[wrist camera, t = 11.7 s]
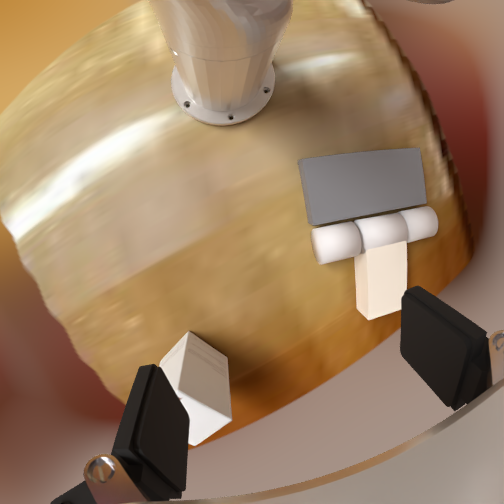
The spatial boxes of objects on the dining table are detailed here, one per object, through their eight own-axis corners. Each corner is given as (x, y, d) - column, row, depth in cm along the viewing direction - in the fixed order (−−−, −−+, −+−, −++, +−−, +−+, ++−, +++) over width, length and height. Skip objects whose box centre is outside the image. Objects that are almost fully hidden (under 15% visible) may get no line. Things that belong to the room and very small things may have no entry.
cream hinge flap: (350, 217, 36) (365, 222, 31) (389, 211, 36) (406, 214, 32) (356, 308, 39) (369, 321, 35) (392, 297, 39) (407, 308, 35)
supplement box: (159, 360, 38) (141, 420, 25) (189, 328, 37) (177, 388, 25) (198, 386, 39) (194, 448, 27) (229, 358, 39) (234, 420, 26)
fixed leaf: (297, 160, 33) (307, 157, 29) (411, 148, 34) (430, 146, 30) (313, 259, 36) (325, 269, 32) (420, 233, 37) (438, 239, 33)
